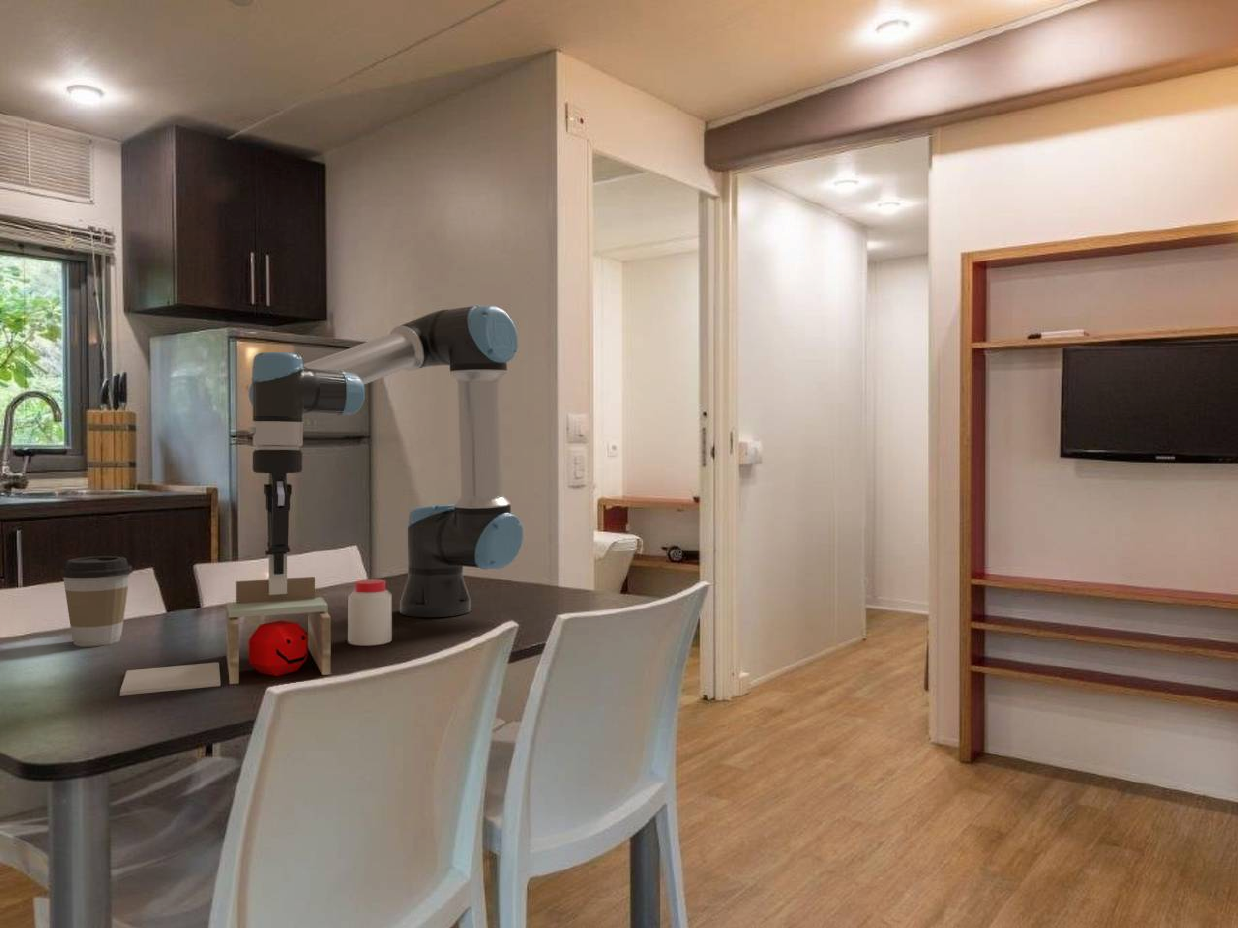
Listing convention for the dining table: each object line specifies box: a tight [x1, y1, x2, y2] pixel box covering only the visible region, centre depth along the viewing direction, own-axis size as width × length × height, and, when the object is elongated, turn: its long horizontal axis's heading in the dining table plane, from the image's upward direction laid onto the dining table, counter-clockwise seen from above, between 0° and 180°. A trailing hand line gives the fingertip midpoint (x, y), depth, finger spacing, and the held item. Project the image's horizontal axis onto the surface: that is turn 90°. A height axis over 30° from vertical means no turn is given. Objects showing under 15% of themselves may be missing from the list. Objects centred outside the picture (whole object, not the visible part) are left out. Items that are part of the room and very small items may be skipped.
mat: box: [119, 661, 221, 697], centre depth 133 cm, size 13×13×1 cm
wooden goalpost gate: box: [225, 601, 332, 685], centre depth 143 cm, size 14×20×9 cm
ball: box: [248, 620, 308, 677], centre depth 139 cm, size 8×8×8 cm
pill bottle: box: [347, 578, 393, 647], centre depth 161 cm, size 8×8×11 cm
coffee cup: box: [59, 555, 134, 648], centre depth 158 cm, size 11×11×15 cm
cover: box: [227, 576, 329, 618], centre depth 141 cm, size 14×8×4 cm, turn 116°
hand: (277, 593), depth 142 cm, fingers closed
